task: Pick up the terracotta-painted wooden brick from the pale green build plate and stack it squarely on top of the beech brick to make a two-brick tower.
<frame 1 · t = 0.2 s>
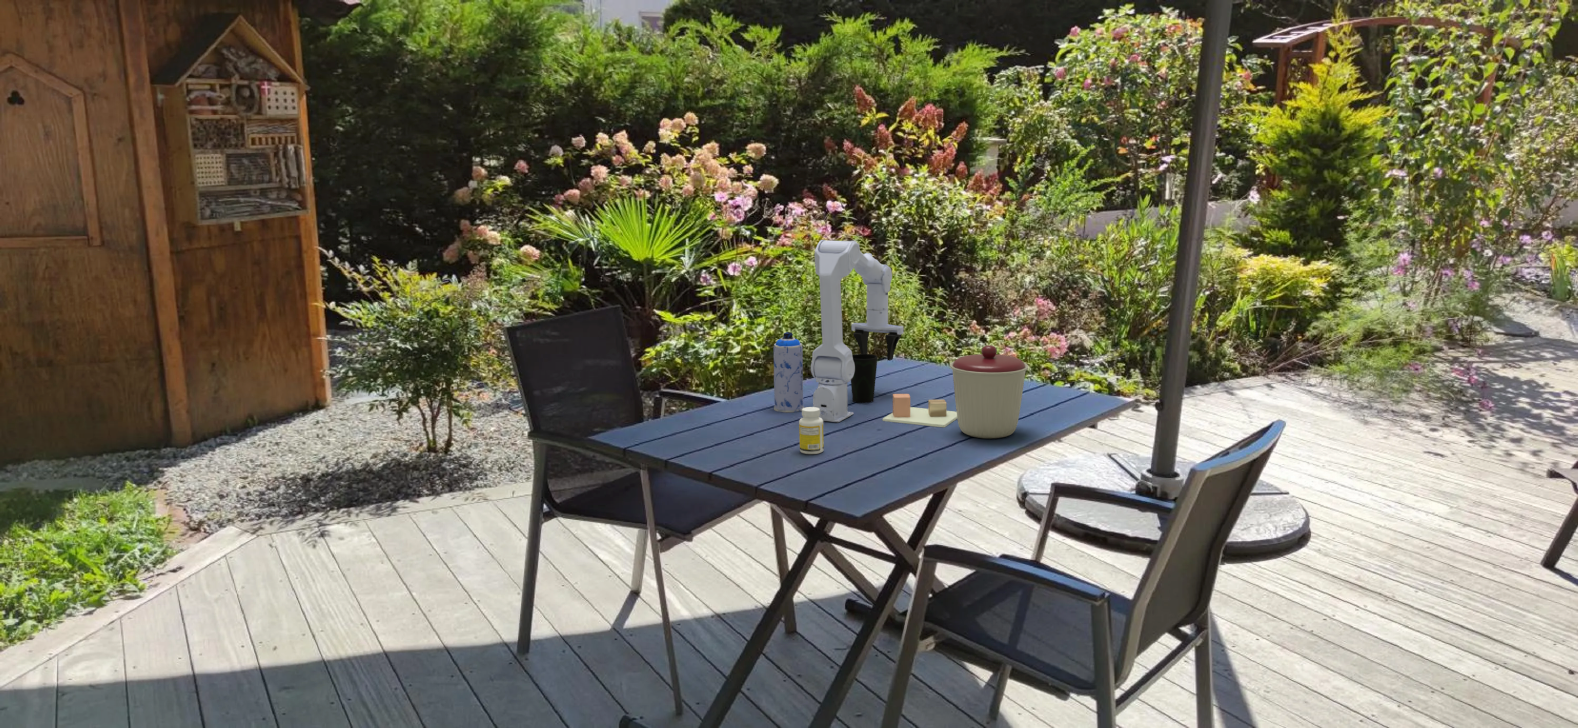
hand: (877, 358, 306), 10 cm above the table, tool pointing down, fingers open, 7 cm apart
build plate: (923, 417, 283), on the table
beech brick: (937, 414, 283), resting on build plate
aerosol can: (788, 409, 294), on the table
terracotta brick: (901, 415, 283), point 1 cm above the table, touching build plate
supplement bottle: (811, 452, 254), on the table
cup: (863, 401, 302), on the table
canister: (987, 434, 267), on the table
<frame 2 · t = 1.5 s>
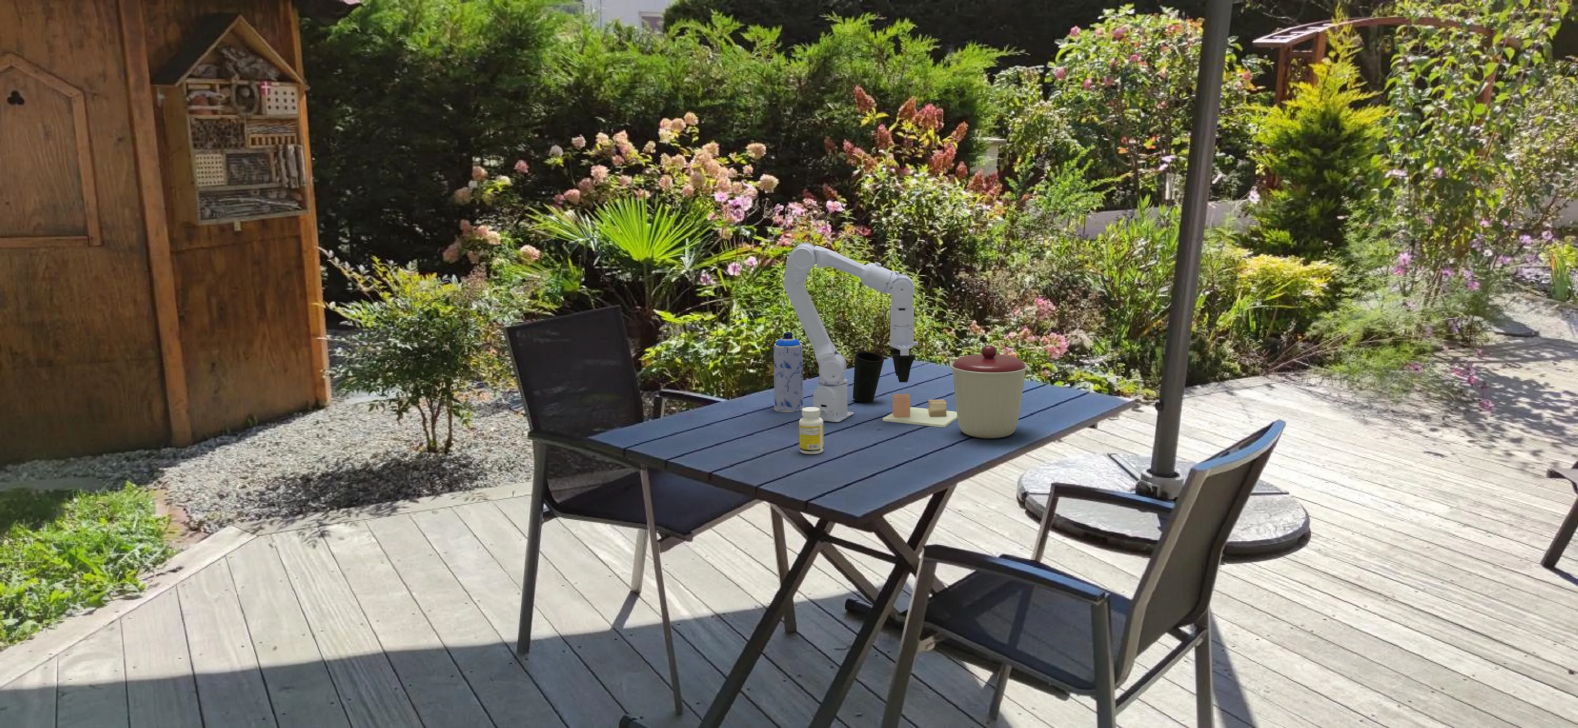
hand: (901, 378, 281), 10 cm above the table, tool pointing down, fingers open, 7 cm apart
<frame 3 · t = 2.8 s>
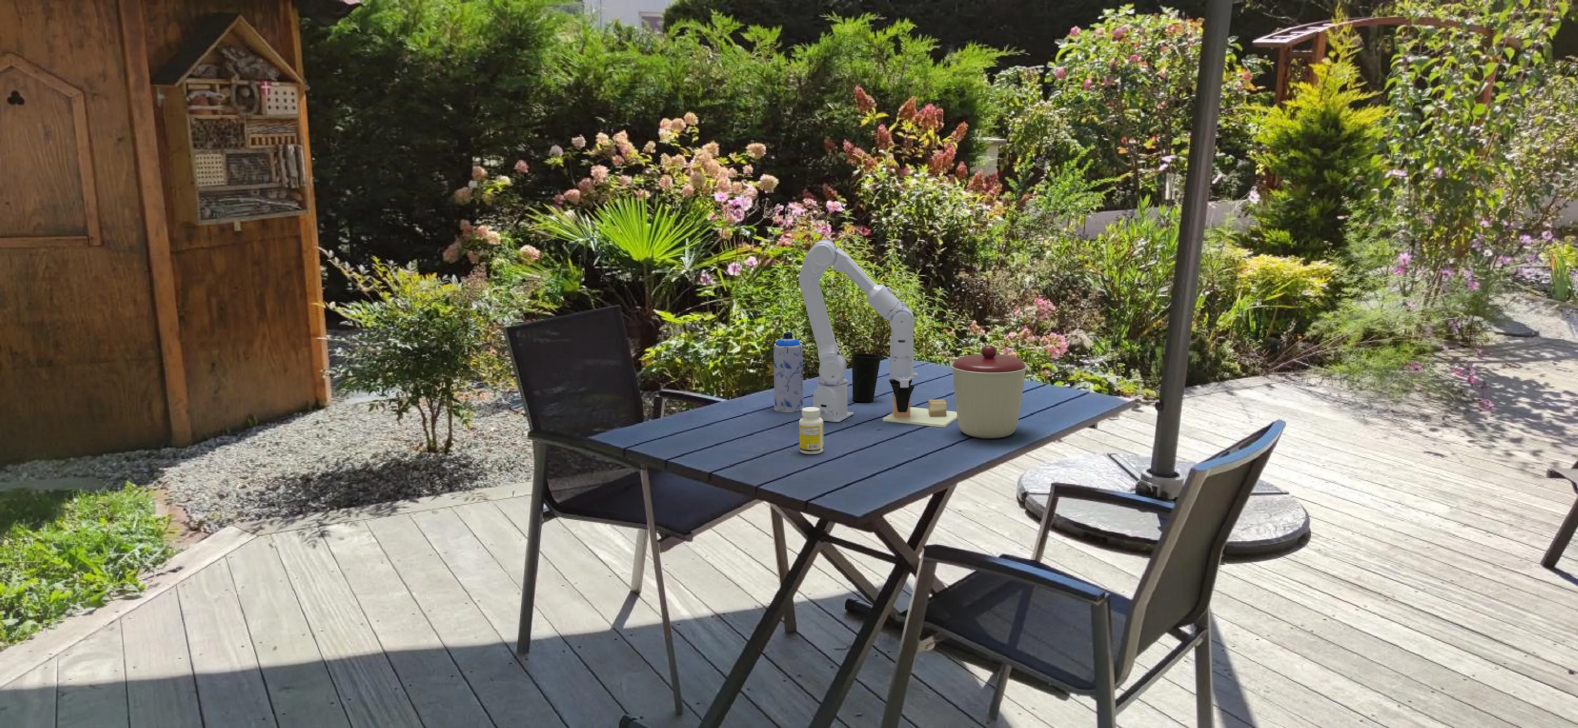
hand: (901, 409, 283), 2 cm above the table, tool pointing down, fingers closed on terracotta brick, 4 cm apart
terracotta brick: (901, 415, 283), point 1 cm above the table, touching build plate, gripper
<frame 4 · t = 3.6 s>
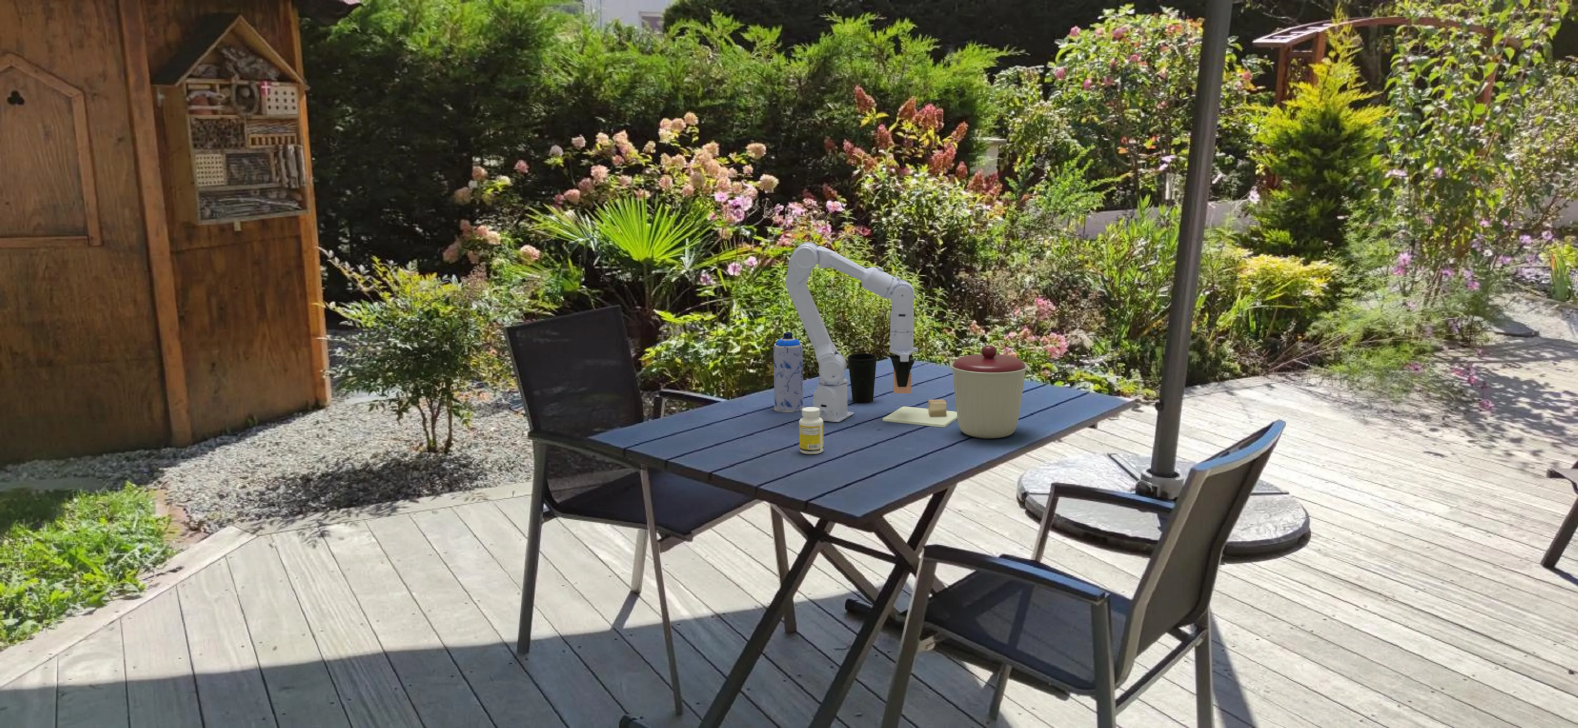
hand: (901, 384, 282), 8 cm above the table, tool pointing down, fingers closed on terracotta brick, 4 cm apart
terracotta brick: (901, 391, 282), point 7 cm above the table, touching gripper
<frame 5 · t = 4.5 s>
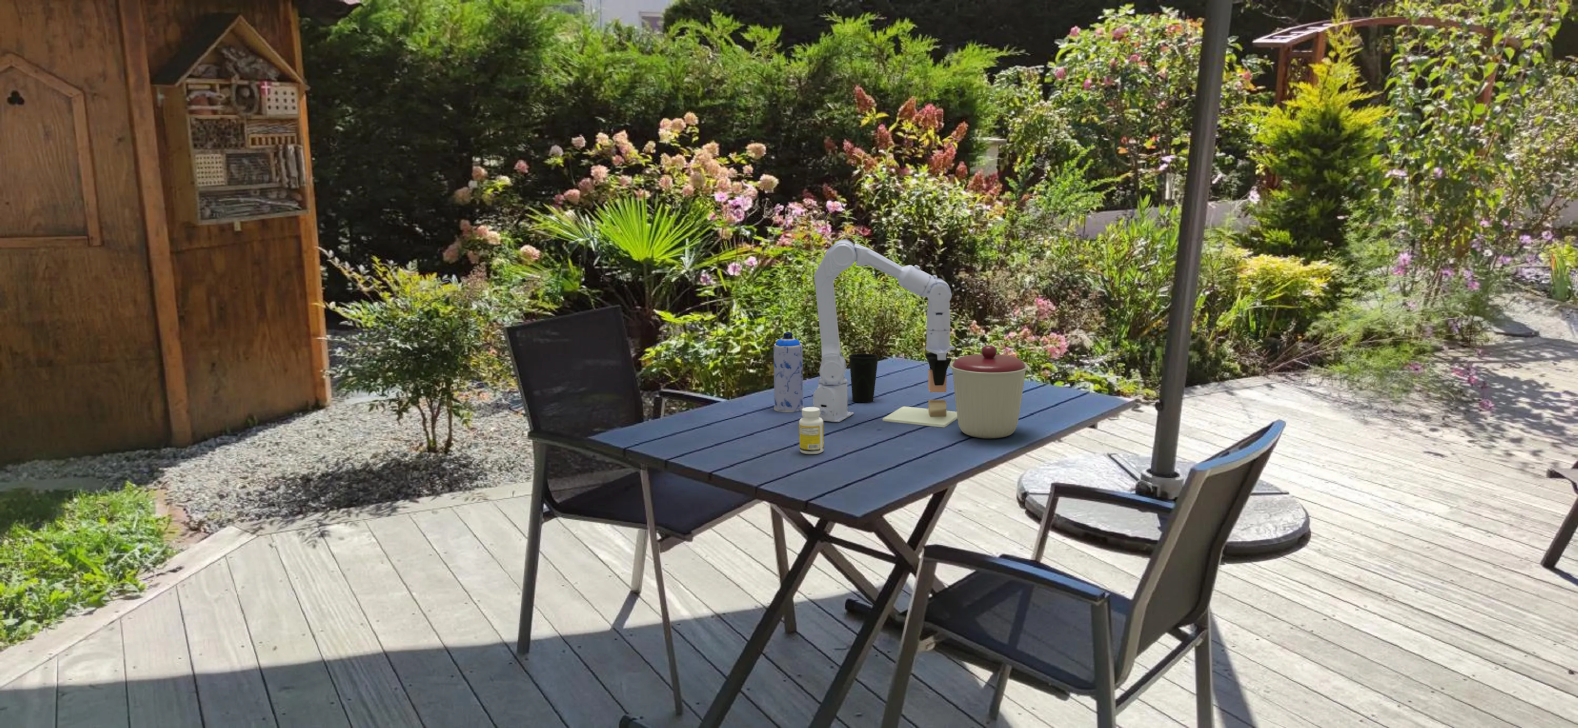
hand: (937, 383, 281), 9 cm above the table, tool pointing down, fingers closed on terracotta brick, 4 cm apart
terracotta brick: (937, 390, 282), point 7 cm above the table, touching gripper
when the fingers open (7 cm above the table, at t = 5.2 s): terracotta brick stays where it is, resting on beech brick.
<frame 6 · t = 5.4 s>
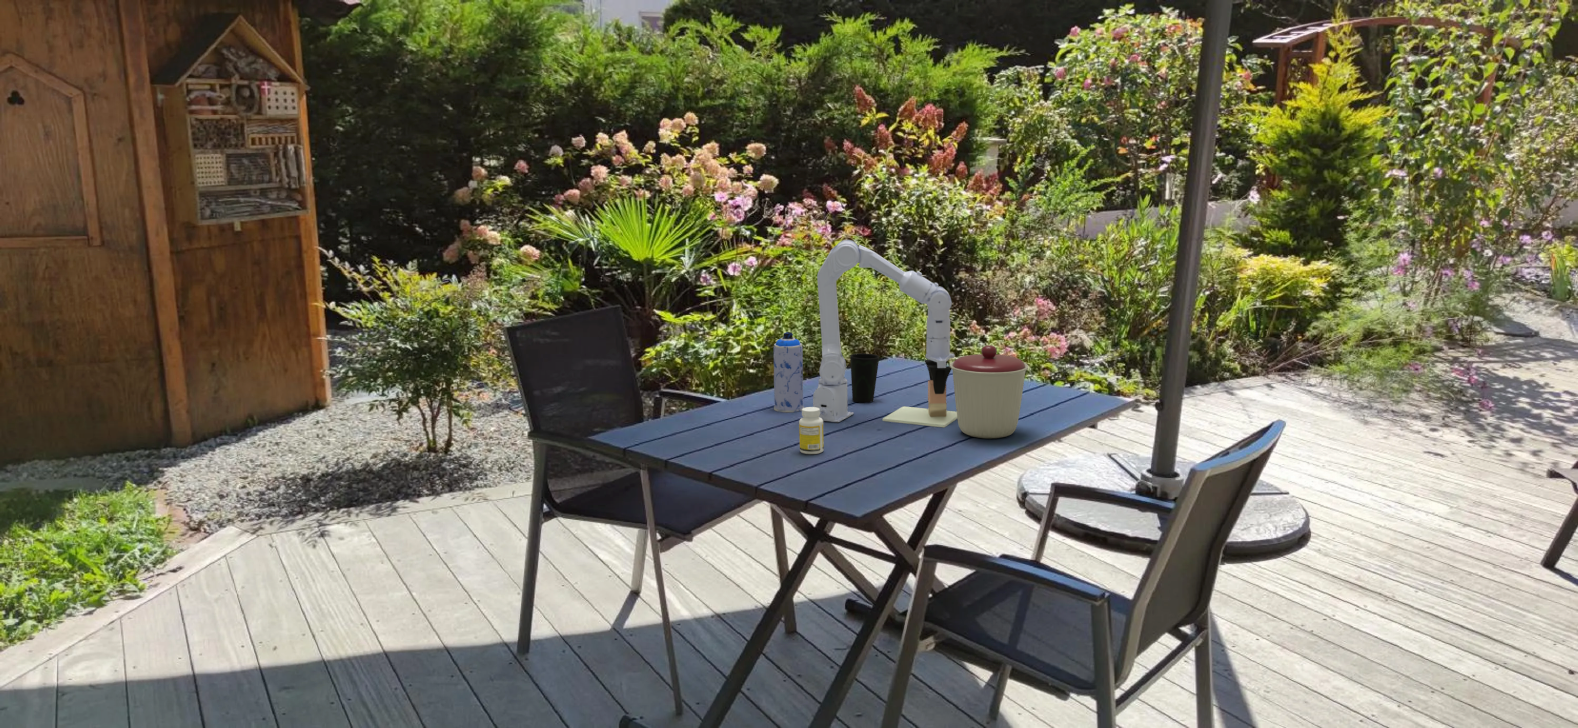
hand: (937, 390, 282), 7 cm above the table, tool pointing down, fingers open, 6 cm apart
terracotta brick: (936, 401, 282), point 4 cm above the table, touching beech brick
everything else where it was.
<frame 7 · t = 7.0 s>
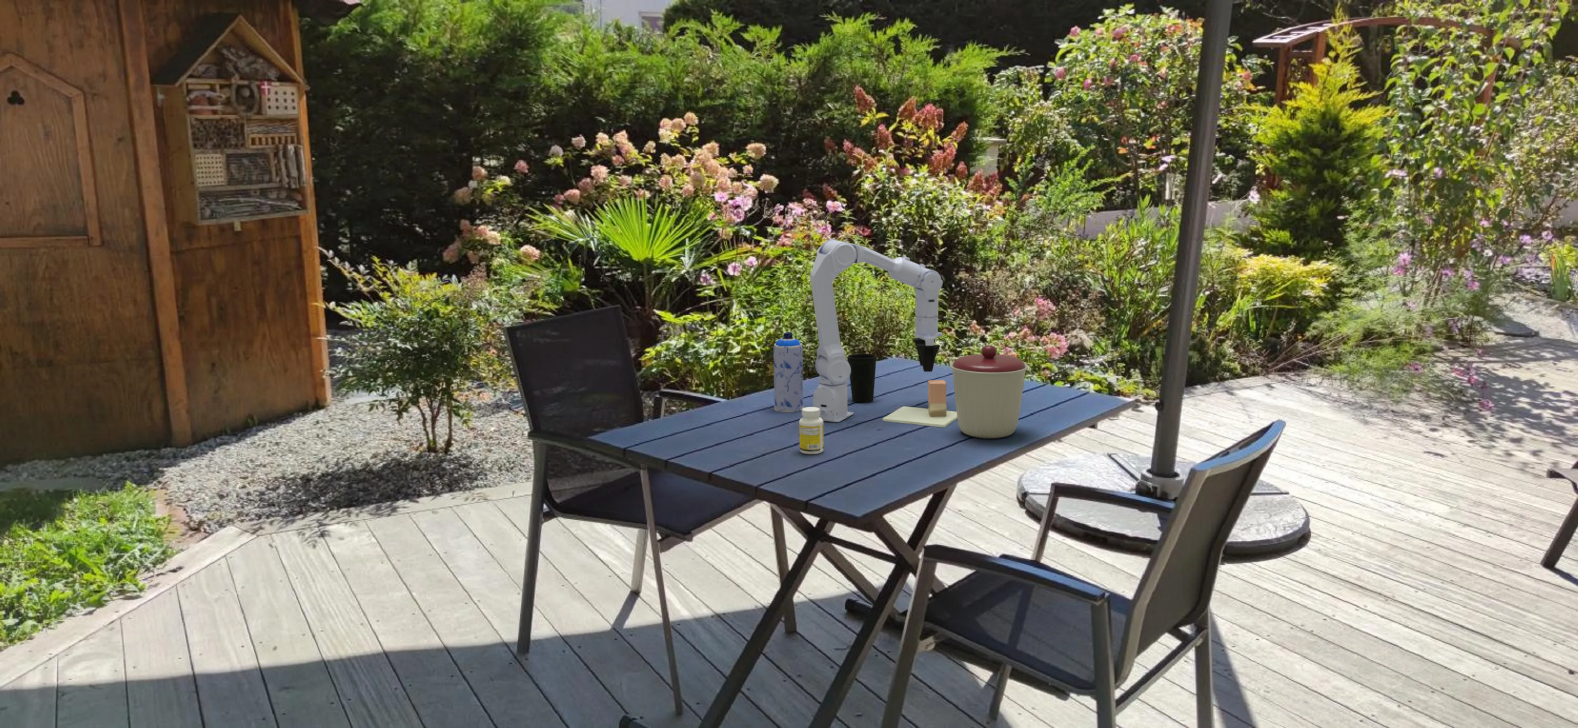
hand: (926, 368, 291), 10 cm above the table, tool pointing down, fingers open, 7 cm apart
nothing on the table moved.
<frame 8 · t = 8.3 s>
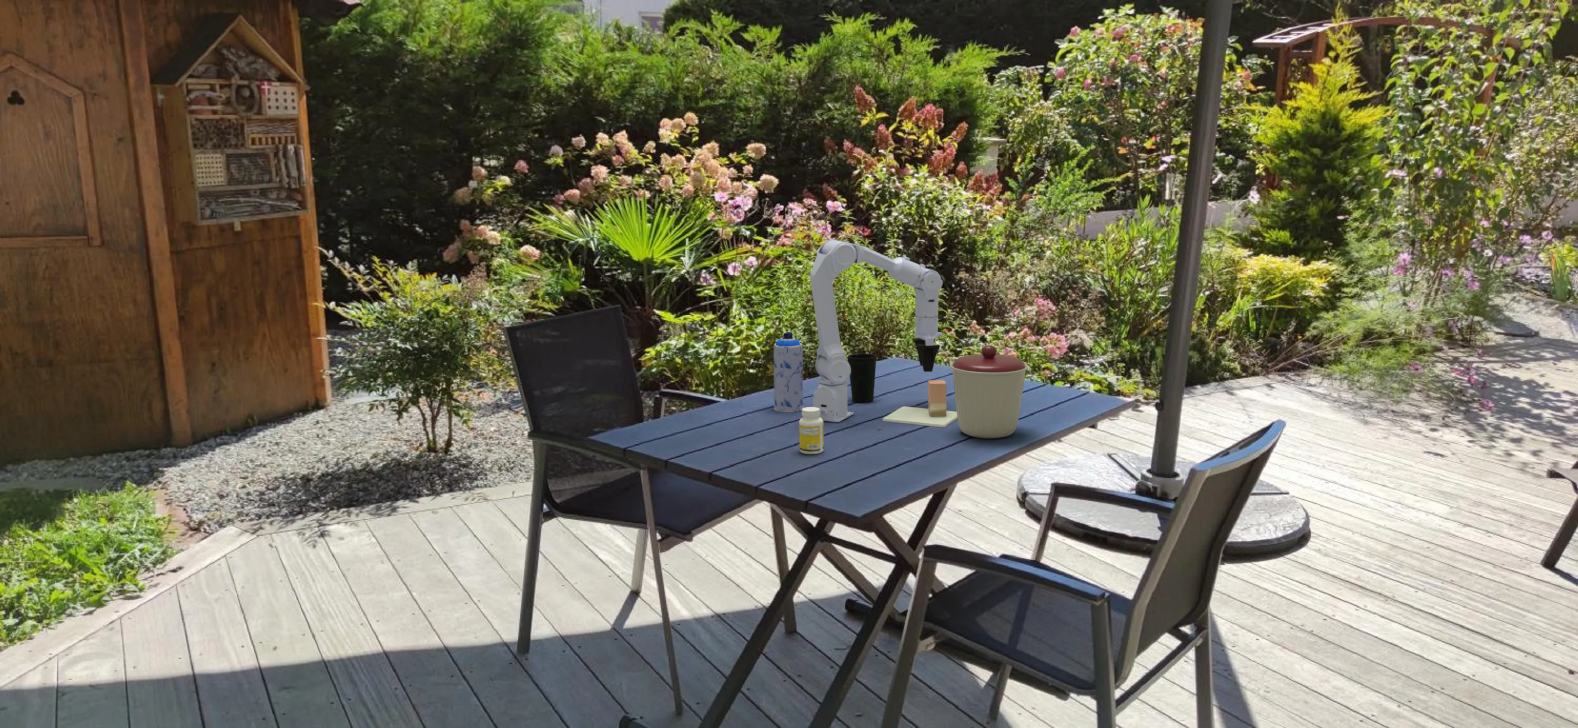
hand: (926, 368, 291), 10 cm above the table, tool pointing down, fingers open, 7 cm apart
nothing on the table moved.
at the end: terracotta brick 0.1 cm off-centre on the beech brick, point 3.4 cm above the beech brick's base; terracotta brick tilted 0°; the gripper is holding nothing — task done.
